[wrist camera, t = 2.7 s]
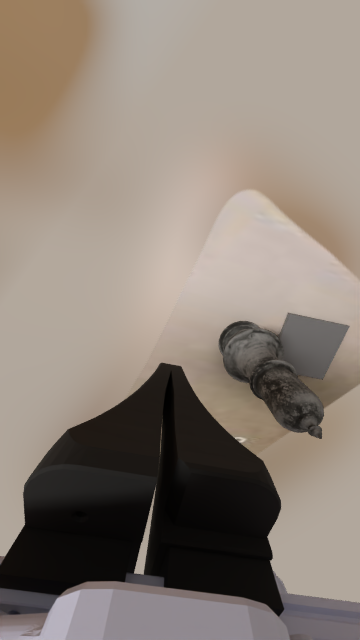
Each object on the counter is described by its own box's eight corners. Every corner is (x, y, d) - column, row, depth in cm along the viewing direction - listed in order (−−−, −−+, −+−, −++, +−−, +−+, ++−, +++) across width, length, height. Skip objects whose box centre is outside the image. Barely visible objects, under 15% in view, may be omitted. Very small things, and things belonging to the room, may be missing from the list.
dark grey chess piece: (248, 307, 19) (352, 364, 8) (276, 346, 20) (401, 445, 9) (206, 338, 20) (239, 430, 9) (234, 373, 21) (296, 494, 10)
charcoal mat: (320, 378, 21) (322, 379, 21) (266, 367, 21) (268, 368, 21) (347, 325, 19) (349, 326, 19) (288, 312, 19) (289, 313, 19)
